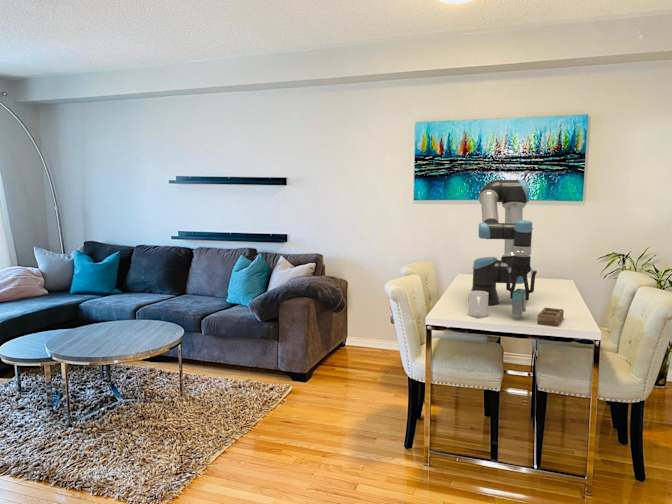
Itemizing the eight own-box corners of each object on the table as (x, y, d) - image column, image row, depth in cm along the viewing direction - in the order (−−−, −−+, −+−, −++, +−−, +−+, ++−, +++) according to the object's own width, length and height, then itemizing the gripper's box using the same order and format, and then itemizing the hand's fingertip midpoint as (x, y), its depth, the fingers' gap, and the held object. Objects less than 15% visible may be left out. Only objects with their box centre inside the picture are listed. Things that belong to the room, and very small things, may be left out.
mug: (467, 318, 233) (468, 294, 231) (468, 312, 244) (469, 290, 243) (487, 319, 230) (488, 296, 229) (487, 313, 242) (488, 291, 241)
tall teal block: (521, 315, 228) (522, 293, 227) (511, 314, 230) (512, 292, 229) (525, 310, 236) (526, 289, 235) (516, 309, 238) (517, 288, 237)
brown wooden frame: (557, 326, 219) (557, 317, 219) (537, 324, 223) (537, 315, 223) (563, 318, 234) (563, 309, 234) (544, 315, 239) (544, 307, 238)
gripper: (500, 255, 231) (497, 306, 234) (540, 257, 222) (537, 311, 225) (504, 253, 237) (501, 302, 240) (543, 255, 229) (540, 307, 232)
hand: (519, 306), depth 233 cm, fingers closed on tall teal block, 4 cm apart
